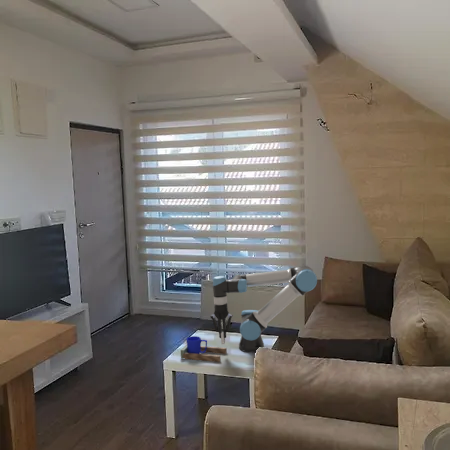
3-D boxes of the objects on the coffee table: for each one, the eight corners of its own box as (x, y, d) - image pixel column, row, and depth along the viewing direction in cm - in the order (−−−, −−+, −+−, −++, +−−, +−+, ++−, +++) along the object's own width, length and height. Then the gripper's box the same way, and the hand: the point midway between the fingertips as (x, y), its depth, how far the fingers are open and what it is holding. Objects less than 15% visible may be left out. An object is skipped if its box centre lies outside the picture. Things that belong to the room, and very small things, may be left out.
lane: (226, 352, 278) (226, 344, 277) (219, 361, 263) (219, 353, 263) (189, 349, 284) (189, 341, 283) (180, 358, 269) (180, 350, 269)
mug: (205, 358, 269) (205, 341, 268) (185, 357, 271) (184, 340, 270) (208, 353, 277) (208, 336, 276) (188, 352, 279) (188, 335, 278)
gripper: (233, 301, 273) (235, 341, 275) (211, 301, 276) (214, 341, 278) (230, 304, 266) (232, 345, 268) (208, 305, 269) (210, 345, 271)
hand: (223, 343), depth 273 cm, fingers closed
